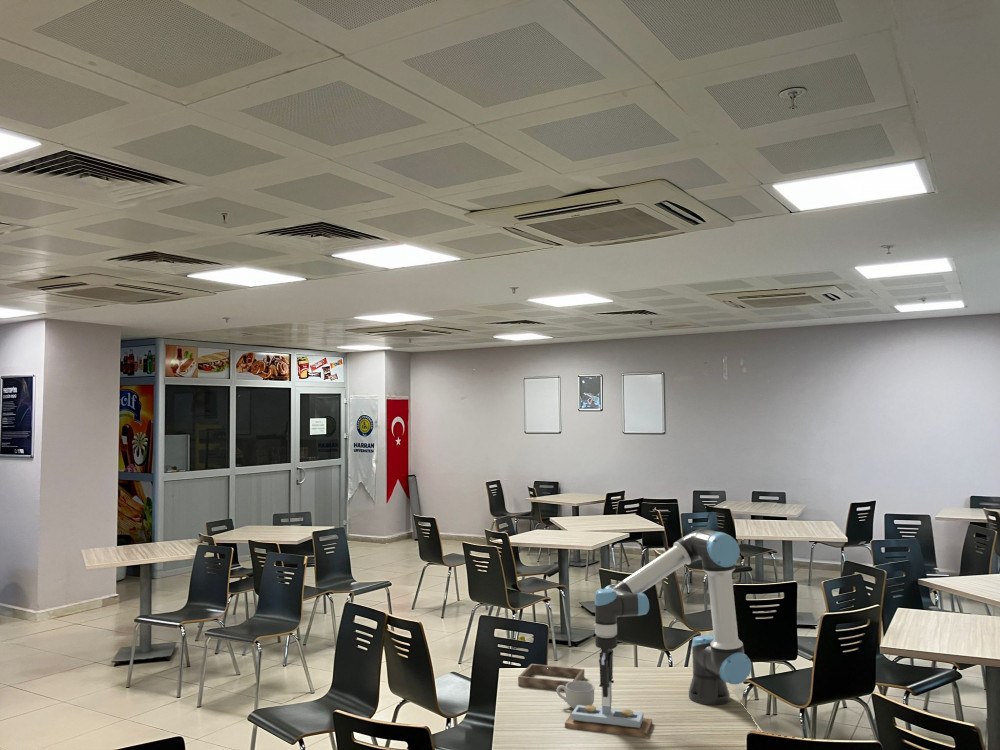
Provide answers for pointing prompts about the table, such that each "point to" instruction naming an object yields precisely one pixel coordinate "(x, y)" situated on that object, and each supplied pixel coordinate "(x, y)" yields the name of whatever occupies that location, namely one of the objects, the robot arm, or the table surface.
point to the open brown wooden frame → (529, 681)
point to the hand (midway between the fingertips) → (606, 704)
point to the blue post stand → (607, 715)
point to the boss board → (610, 725)
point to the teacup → (578, 693)
